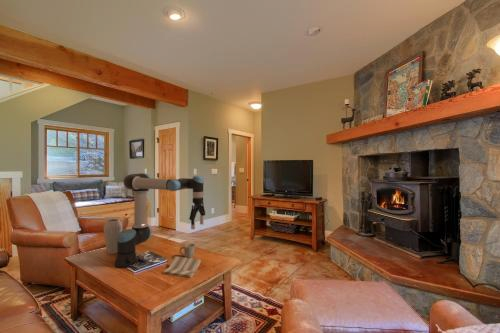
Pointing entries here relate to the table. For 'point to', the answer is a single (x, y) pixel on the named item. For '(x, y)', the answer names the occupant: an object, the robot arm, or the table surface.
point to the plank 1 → (178, 263)
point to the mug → (188, 250)
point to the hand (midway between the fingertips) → (197, 226)
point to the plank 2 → (191, 264)
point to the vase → (112, 234)
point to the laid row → (179, 272)
